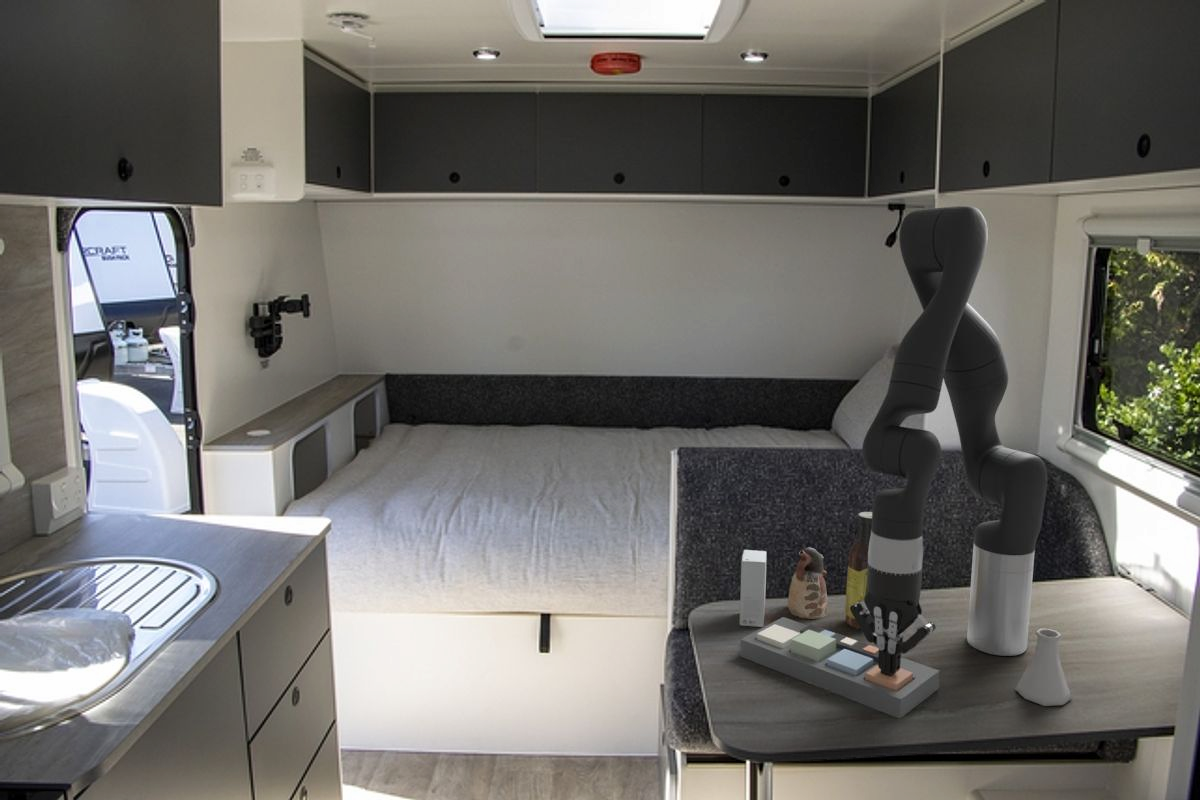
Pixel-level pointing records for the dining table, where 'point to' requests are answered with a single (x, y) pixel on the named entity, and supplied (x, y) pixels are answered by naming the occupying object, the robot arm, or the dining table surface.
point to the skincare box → (753, 588)
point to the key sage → (813, 645)
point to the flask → (1045, 673)
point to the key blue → (850, 662)
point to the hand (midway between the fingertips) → (888, 673)
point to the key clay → (889, 678)
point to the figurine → (808, 587)
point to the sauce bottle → (858, 567)
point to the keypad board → (838, 680)
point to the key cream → (777, 636)
